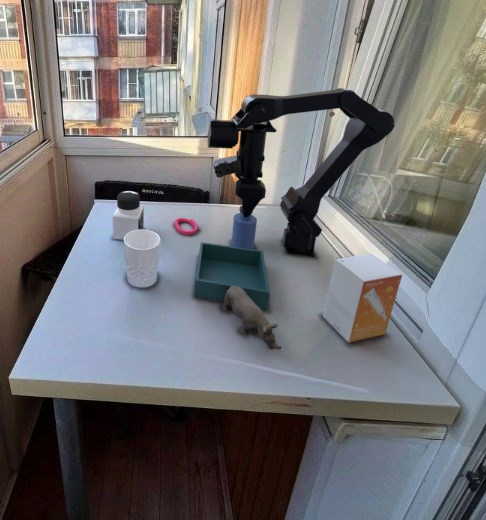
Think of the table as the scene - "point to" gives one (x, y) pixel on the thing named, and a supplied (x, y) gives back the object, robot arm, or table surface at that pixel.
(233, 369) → the table surface
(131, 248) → the white cup
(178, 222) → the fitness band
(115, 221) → the medicine bottle
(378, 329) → the small box
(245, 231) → the bottle
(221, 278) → the tray
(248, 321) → the rhino figurine
